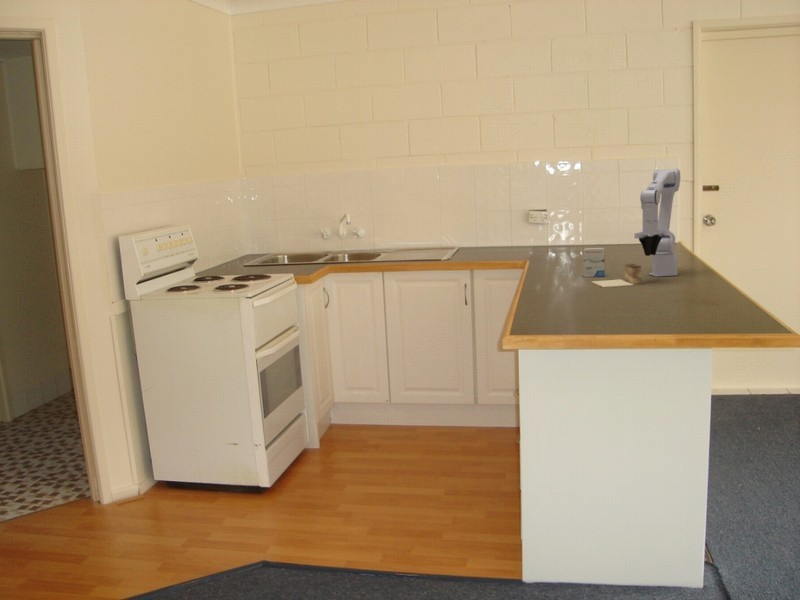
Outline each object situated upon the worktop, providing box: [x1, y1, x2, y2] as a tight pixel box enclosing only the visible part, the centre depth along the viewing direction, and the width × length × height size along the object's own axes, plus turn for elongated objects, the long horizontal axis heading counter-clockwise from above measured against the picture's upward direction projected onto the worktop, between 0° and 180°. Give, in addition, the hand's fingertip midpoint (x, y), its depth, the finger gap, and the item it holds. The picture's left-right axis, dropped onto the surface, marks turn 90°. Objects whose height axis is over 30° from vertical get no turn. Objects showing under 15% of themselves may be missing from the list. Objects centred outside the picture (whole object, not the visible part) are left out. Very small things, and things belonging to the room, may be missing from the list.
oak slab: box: [624, 263, 642, 285], centre depth 302 cm, size 4×8×7 cm, turn 4°
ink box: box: [583, 247, 606, 278], centre depth 324 cm, size 8×5×12 cm, turn 74°
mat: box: [590, 278, 634, 289], centre depth 302 cm, size 12×14×1 cm
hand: (650, 255), depth 302 cm, fingers open, 2 cm apart
